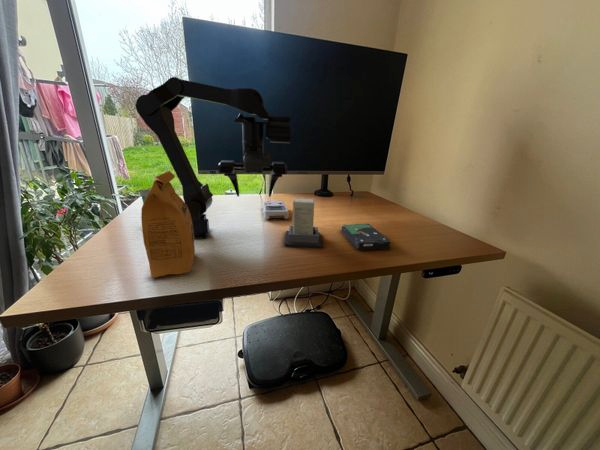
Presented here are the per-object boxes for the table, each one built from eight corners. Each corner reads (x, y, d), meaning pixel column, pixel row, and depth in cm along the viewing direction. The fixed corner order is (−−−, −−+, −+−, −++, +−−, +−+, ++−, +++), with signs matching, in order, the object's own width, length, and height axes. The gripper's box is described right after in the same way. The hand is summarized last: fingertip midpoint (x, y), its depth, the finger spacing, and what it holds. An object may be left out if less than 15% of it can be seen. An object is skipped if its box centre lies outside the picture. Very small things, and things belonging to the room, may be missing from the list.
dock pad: (321, 248, 71) (322, 237, 70) (284, 246, 71) (285, 236, 70) (319, 234, 81) (320, 225, 79) (286, 232, 80) (286, 223, 79)
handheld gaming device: (283, 208, 105) (283, 200, 104) (288, 220, 92) (288, 210, 90) (262, 209, 103) (262, 200, 102) (265, 221, 90) (264, 211, 88)
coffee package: (201, 251, 65) (192, 169, 57) (193, 277, 54) (180, 180, 46) (161, 253, 63) (146, 169, 55) (143, 281, 52) (121, 179, 44)
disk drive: (389, 249, 73) (367, 230, 86) (391, 241, 72) (368, 222, 85) (358, 251, 71) (340, 231, 84) (359, 242, 70) (341, 223, 83)
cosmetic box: (312, 235, 77) (315, 199, 73) (312, 241, 73) (315, 202, 69) (292, 233, 78) (294, 197, 73) (291, 239, 74) (293, 201, 69)
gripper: (213, 141, 57) (218, 204, 63) (290, 144, 61) (288, 204, 66) (219, 139, 67) (223, 193, 73) (285, 142, 71) (283, 194, 76)
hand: (254, 196), depth 72 cm, fingers open, 9 cm apart
